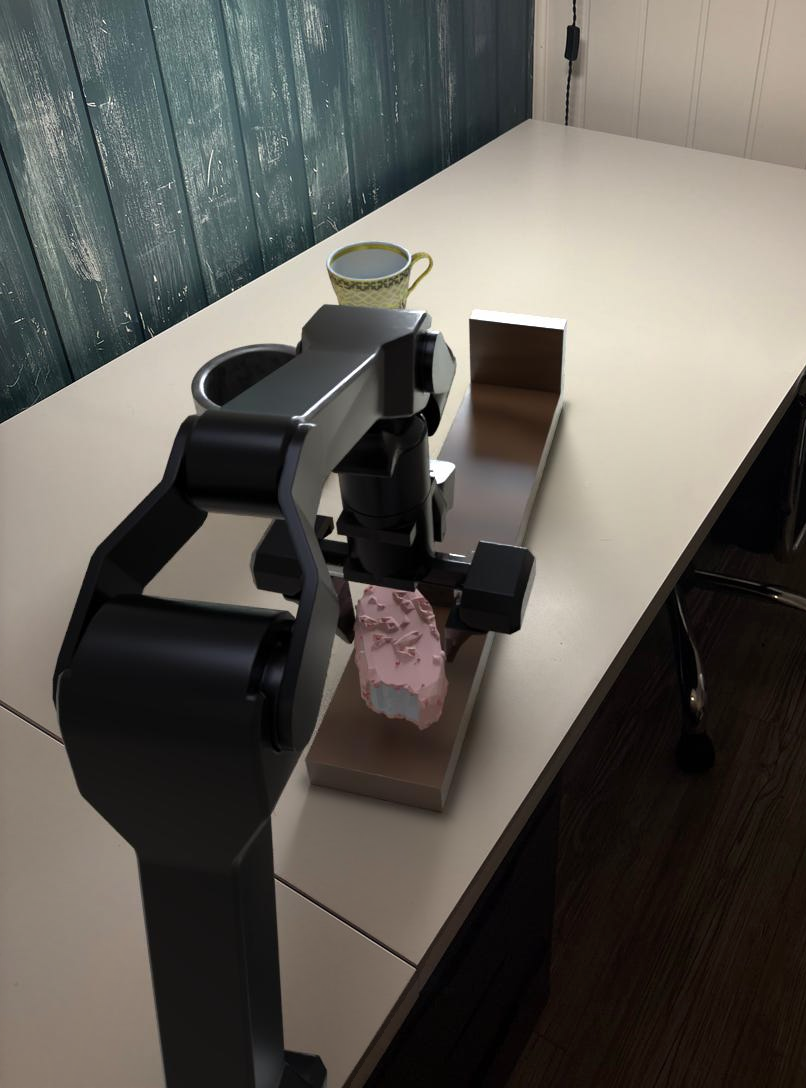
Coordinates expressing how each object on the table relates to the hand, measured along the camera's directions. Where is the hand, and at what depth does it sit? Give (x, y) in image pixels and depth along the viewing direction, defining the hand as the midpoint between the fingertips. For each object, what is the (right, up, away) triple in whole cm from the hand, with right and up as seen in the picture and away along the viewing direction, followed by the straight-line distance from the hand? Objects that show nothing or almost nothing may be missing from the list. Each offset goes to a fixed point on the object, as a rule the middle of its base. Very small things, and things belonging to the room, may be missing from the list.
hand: (401, 648), depth 69 cm
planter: (-15, +13, +28) cm, 34 cm away
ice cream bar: (0, -1, +1) cm, 1 cm away
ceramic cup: (-6, +29, +48) cm, 57 cm away
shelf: (+4, +5, +17) cm, 19 cm away
